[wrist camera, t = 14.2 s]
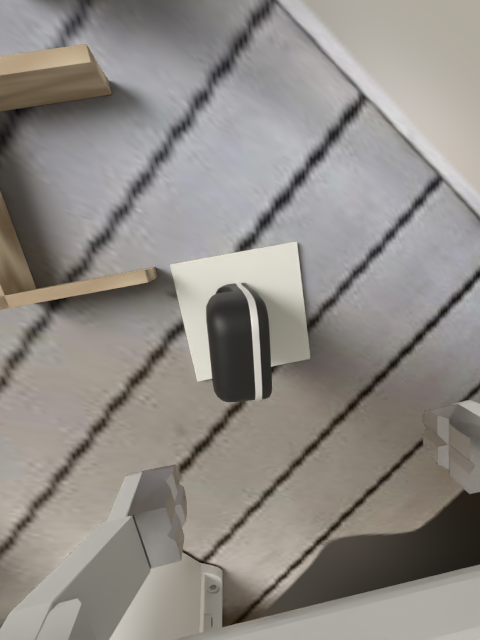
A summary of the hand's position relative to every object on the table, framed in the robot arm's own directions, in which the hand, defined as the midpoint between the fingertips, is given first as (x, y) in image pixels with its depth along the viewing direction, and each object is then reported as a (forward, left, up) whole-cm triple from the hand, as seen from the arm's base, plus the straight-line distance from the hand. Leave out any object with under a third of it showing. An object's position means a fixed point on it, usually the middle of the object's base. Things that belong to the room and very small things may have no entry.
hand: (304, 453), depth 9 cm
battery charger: (0, +1, -19) cm, 19 cm away
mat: (0, 0, -20) cm, 20 cm away
